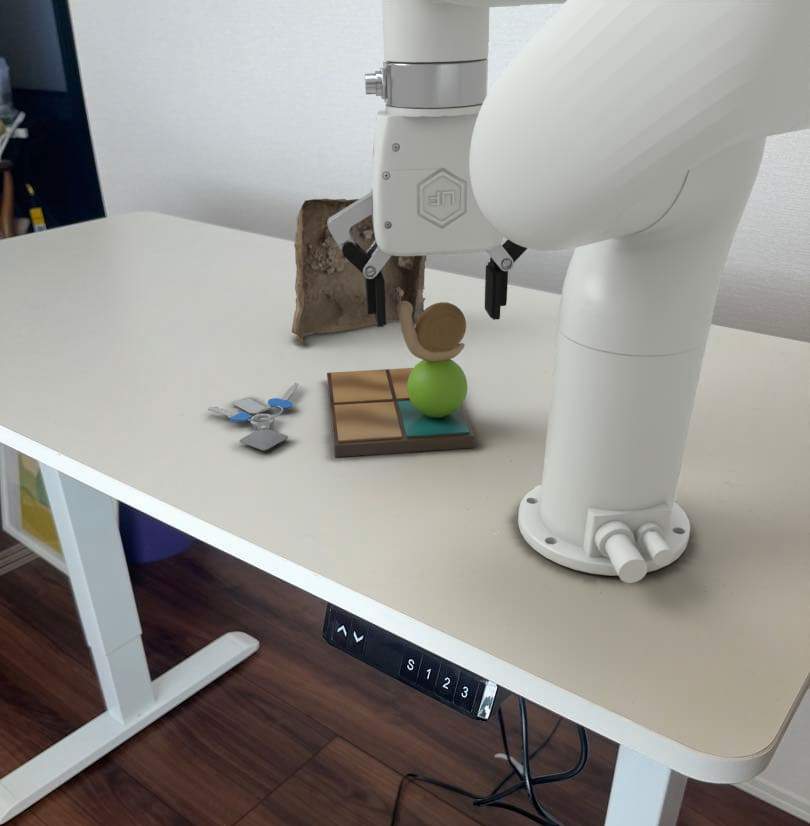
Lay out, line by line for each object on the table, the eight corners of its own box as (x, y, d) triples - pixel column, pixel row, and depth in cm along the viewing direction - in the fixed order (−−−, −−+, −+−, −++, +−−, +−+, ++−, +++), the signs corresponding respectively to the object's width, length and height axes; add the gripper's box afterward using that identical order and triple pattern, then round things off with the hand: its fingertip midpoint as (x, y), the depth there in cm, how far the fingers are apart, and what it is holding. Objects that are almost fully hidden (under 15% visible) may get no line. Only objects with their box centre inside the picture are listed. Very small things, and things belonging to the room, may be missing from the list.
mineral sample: (298, 347, 93) (286, 206, 85) (287, 335, 96) (274, 198, 88) (431, 324, 99) (431, 190, 90) (416, 314, 102) (416, 183, 93)
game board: (474, 448, 73) (474, 433, 72) (335, 457, 72) (334, 443, 71) (445, 376, 86) (445, 363, 85) (327, 383, 85) (326, 370, 84)
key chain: (285, 453, 72) (284, 445, 72) (192, 455, 72) (190, 447, 71) (300, 388, 83) (299, 380, 83) (219, 389, 83) (218, 382, 83)
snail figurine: (389, 407, 76) (386, 279, 70) (454, 398, 78) (457, 271, 71) (407, 433, 72) (405, 298, 65) (475, 422, 74) (480, 290, 67)
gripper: (319, 98, 56) (336, 340, 66) (565, 89, 58) (547, 326, 67) (316, 88, 62) (332, 310, 72) (538, 80, 64) (525, 298, 73)
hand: (436, 318), depth 69 cm, fingers open, 9 cm apart
